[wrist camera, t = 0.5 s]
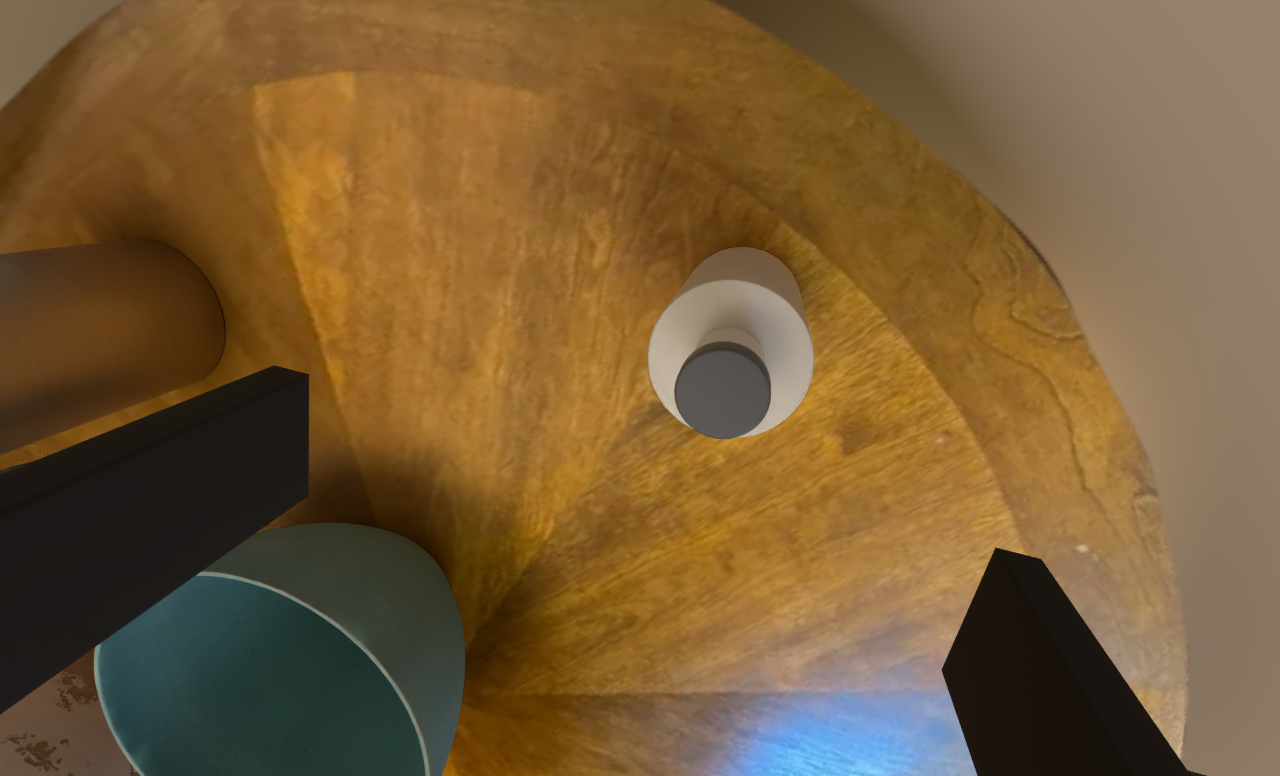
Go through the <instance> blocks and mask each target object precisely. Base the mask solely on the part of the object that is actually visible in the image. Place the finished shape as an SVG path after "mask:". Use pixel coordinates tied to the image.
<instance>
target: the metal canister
mask: <svg viewBox="0 0 1280 776" xmlns="http://www.w3.org/2000/svg"><path fill="white" fill-rule="evenodd" d="M224 342H225V326H224V319H223V314H222V310H221V307H220V304H219V301H218V299H217V297H216V295H215V293H214V291H213V289H212V287H211V286H210V284H209V282H208V281H207V279H206V278H205V277H204V275H203V274H202V273H201V272H200V270H199V269H198V268H197V267H196V266H195V265H194V264H193V263H192V262H191V261H190V260H189V259H188V258H186V257H185V256H184V255H182V254H181V253H180V252H178V251H176V250H175V249H173V248H171V247H169V246H167V245H165V244H163V243H160V242H156V241H153V240H148V239H129V240H120V241H111V242H103V243H94V244H85V245H76V246H67V247H59V248H50V249H41V250H32V251H23V252H15V253H6V254H0V455H2V454H5V453H8V452H10V451H13V450H16V449H18V448H21V447H24V446H26V445H29V444H32V443H34V442H37V441H40V440H42V439H45V438H48V437H50V436H53V435H56V434H58V433H61V432H64V431H66V430H69V429H72V428H74V427H77V426H80V425H82V424H85V423H88V422H90V421H93V420H96V419H98V418H101V417H104V416H106V415H109V414H112V413H114V412H117V411H120V410H122V409H125V408H128V407H130V406H133V405H136V404H138V403H141V402H144V401H146V400H149V399H152V398H154V397H157V396H160V395H162V394H165V393H168V392H170V391H173V390H176V389H178V388H181V387H184V386H186V385H189V384H192V383H194V382H197V381H199V380H201V379H203V378H204V377H206V376H207V375H208V374H209V373H210V372H211V371H212V370H213V369H214V368H215V366H216V365H217V363H218V362H219V359H220V357H221V355H222V352H223V348H224Z"/></svg>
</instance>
